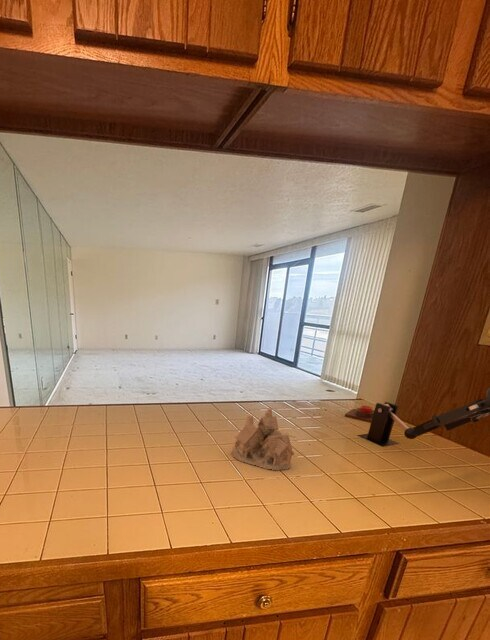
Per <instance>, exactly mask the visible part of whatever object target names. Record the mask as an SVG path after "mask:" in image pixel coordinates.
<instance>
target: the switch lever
mask: <svg viewBox="0 0 490 640" xmlns="http://www.w3.org/2000/svg"><path fill="white" fill-rule="evenodd" d="M382 404H383V403H382ZM383 405H386V406H389V405H388V404H383ZM389 407H390V406H389ZM393 410H394V409H393V408H392V407H390V410H389V414H388V415H389V416H390V417H391V418H392V419H393V420H394V423H396V424H397V425H398V426H399V427H400V428H401V429H402V430H404V432H403V435H404V437H405V438H406V439H409V440H414V439H416V438H417V437H418V436H417V434H416V432H415V430H414V429H413V427H408V426H407V425H406V423H405V422H404V421H403V420H402V419H400V418H399V417H398V416H397V414H396V415H395V414H394V413H393V412H392V411H393Z"/></svg>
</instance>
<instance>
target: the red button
mask: <svg viewBox="0 0 490 640" xmlns="http://www.w3.org/2000/svg"><path fill="white" fill-rule="evenodd" d="M360 408H361V409H360V411H363V412H369V413H370V412H372V410H373V407H371V406H369V405H361V406H360Z"/></svg>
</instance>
